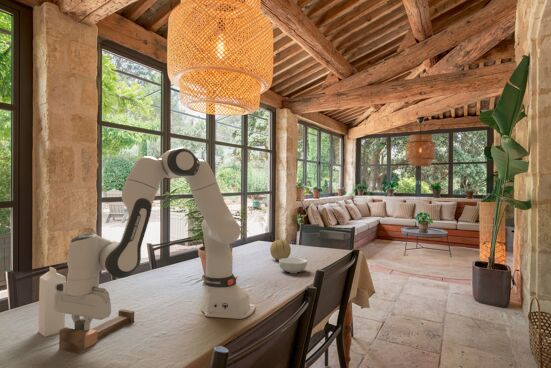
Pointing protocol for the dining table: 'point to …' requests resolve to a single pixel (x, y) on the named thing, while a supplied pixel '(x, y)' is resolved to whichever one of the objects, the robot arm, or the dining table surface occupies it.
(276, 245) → the cantaloupe
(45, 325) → the milk
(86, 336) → the slider
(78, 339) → the rail
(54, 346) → the dining table surface
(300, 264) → the cereal bowl
